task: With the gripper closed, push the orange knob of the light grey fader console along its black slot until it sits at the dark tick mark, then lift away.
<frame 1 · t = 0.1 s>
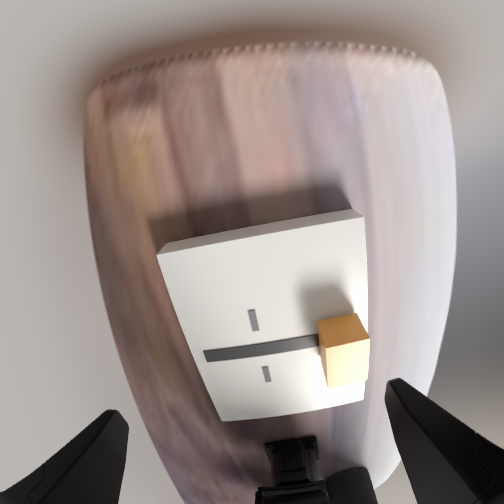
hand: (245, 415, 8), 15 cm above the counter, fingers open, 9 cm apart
fader knob: (343, 350, 20), point 4 cm above the counter, slide at 0.0 cm
fader console: (278, 327, 24), on the counter
travel mug: (347, 475, 36), on the counter
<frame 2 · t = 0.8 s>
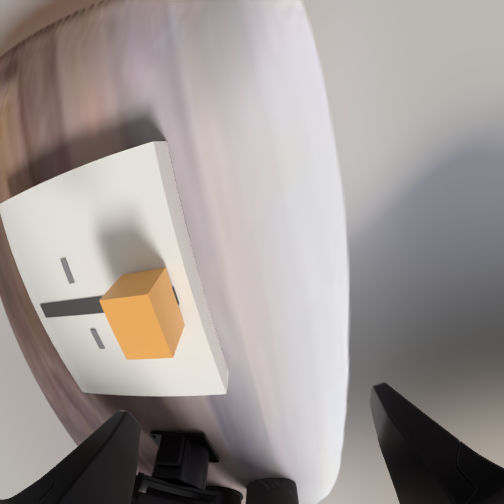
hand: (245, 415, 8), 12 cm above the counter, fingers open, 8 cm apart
fader knob: (145, 314, 16), point 4 cm above the counter, slide at 0.0 cm
aerosol can: (217, 493, 34), on the counter
fader console: (112, 288, 20), on the counter
travel mug: (271, 485, 32), on the counter
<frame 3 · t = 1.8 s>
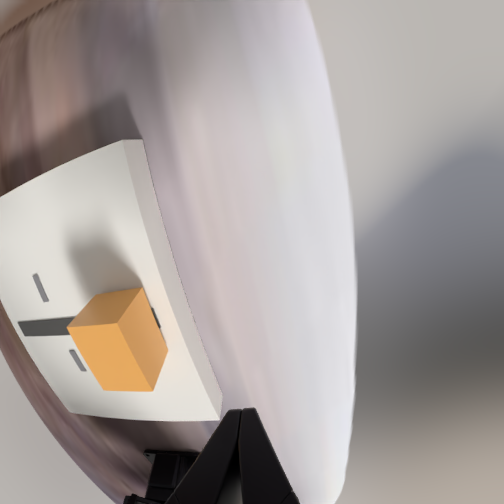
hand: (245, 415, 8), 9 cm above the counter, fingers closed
fader knob: (120, 341, 13), point 4 cm above the counter, slide at 0.0 cm
fader console: (92, 305, 17), on the counter
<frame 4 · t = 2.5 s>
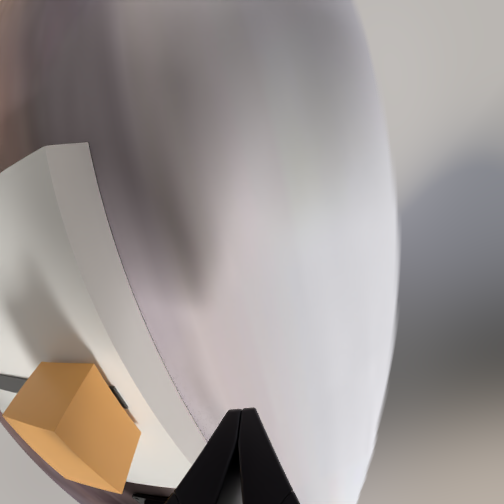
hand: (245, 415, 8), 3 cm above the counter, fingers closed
fader knob: (75, 428, 8), point 4 cm above the counter, slide at 0.0 cm
fader console: (51, 357, 12), on the counter
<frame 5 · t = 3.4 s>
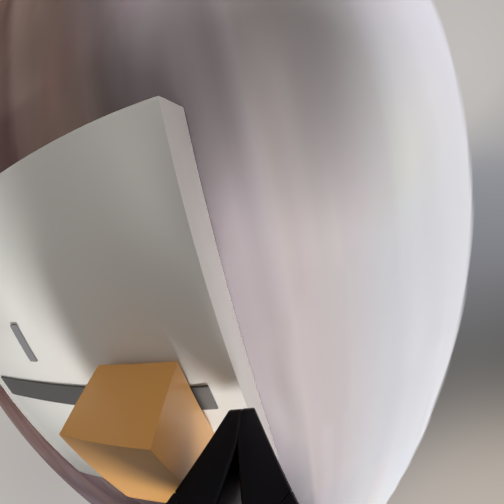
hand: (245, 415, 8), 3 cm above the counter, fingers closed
fader knob: (147, 439, 7), point 4 cm above the counter, slide at 0.5 cm, touching gripper
fader console: (100, 359, 12), on the counter
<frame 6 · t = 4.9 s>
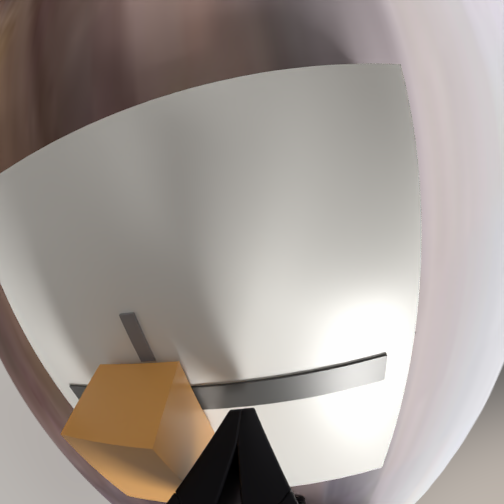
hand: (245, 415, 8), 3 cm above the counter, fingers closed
fader knob: (148, 439, 7), point 4 cm above the counter, slide at 6.3 cm, touching gripper
fader console: (217, 351, 11), on the counter
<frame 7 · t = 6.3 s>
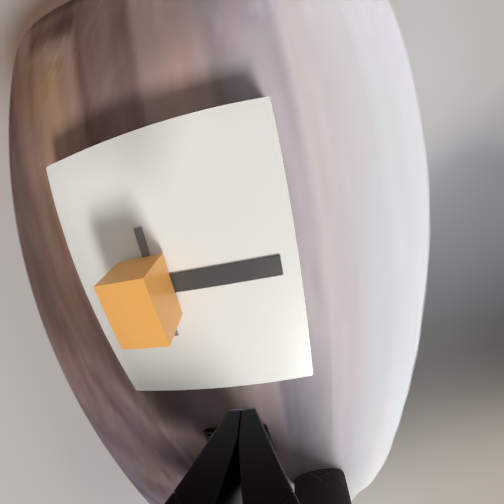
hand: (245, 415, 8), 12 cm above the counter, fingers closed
fader knob: (141, 302, 15), point 4 cm above the counter, slide at 6.3 cm
fader console: (188, 265, 19), on the counter
travel mug: (319, 477, 31), on the counter
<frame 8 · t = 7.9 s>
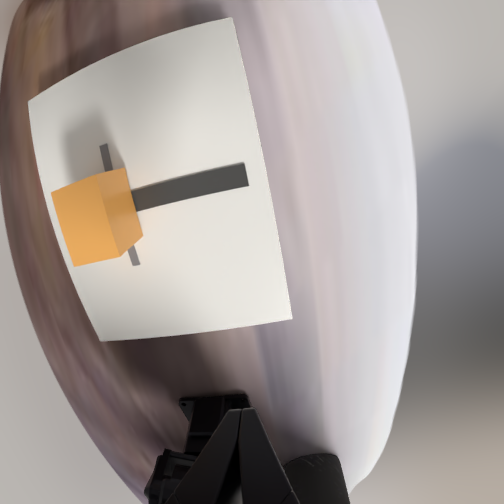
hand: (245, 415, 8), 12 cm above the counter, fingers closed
fader knob: (98, 215, 14), point 4 cm above the counter, slide at 6.3 cm
fader console: (155, 192, 18), on the counter
travel mug: (312, 464, 29), on the counter
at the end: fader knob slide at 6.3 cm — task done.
